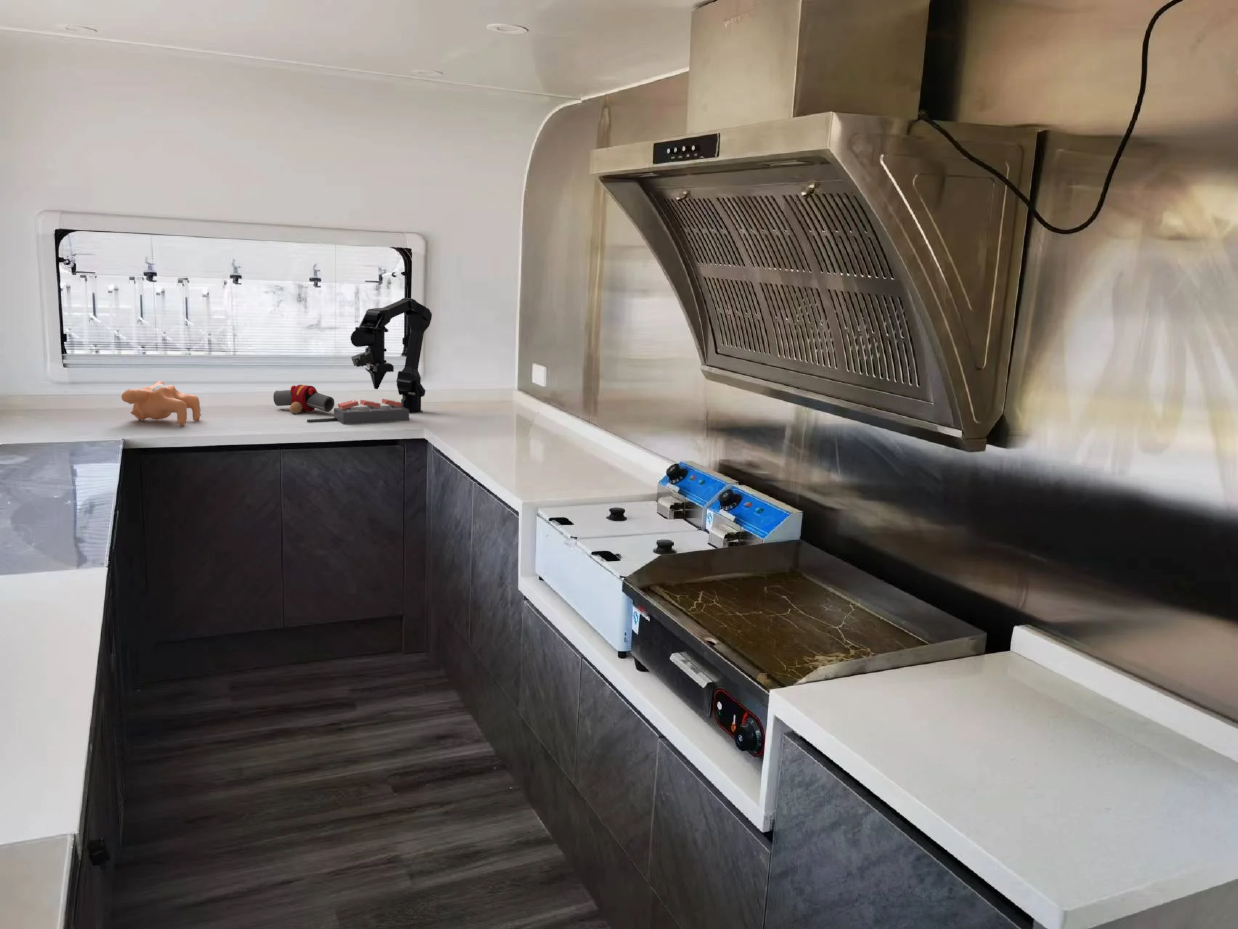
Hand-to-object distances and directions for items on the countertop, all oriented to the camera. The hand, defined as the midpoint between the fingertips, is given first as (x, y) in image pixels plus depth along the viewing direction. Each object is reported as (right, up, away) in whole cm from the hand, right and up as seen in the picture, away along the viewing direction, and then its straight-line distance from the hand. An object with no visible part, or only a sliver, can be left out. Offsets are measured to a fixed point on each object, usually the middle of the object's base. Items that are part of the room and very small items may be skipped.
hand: (376, 389), depth 344 cm
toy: (-28, -8, +9) cm, 31 cm away
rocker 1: (-9, -6, -5) cm, 11 cm away
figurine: (-65, -13, -24) cm, 70 cm away
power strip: (-6, -11, -3) cm, 13 cm away
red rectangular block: (+5, -5, +4) cm, 8 cm away
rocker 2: (-2, -5, 0) cm, 6 cm away
